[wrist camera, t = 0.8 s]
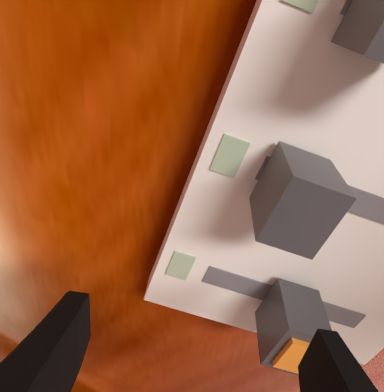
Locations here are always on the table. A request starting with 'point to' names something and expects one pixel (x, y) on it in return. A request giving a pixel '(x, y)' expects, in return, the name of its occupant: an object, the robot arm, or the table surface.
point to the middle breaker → (298, 201)
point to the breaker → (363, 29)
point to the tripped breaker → (288, 324)
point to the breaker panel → (256, 162)
